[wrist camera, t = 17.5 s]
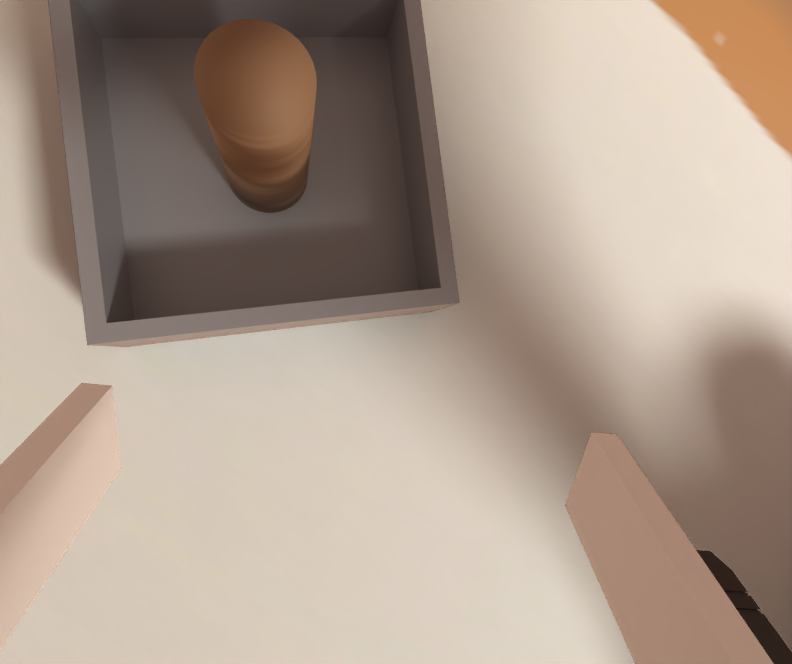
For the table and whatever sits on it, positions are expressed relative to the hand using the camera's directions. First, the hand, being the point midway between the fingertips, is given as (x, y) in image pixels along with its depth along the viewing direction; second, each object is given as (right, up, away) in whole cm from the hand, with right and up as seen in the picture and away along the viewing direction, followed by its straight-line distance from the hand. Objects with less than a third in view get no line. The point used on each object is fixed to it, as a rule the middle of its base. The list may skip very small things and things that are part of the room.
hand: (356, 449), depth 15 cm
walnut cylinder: (-7, +13, +19) cm, 24 cm away
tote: (-7, +13, +20) cm, 25 cm away
